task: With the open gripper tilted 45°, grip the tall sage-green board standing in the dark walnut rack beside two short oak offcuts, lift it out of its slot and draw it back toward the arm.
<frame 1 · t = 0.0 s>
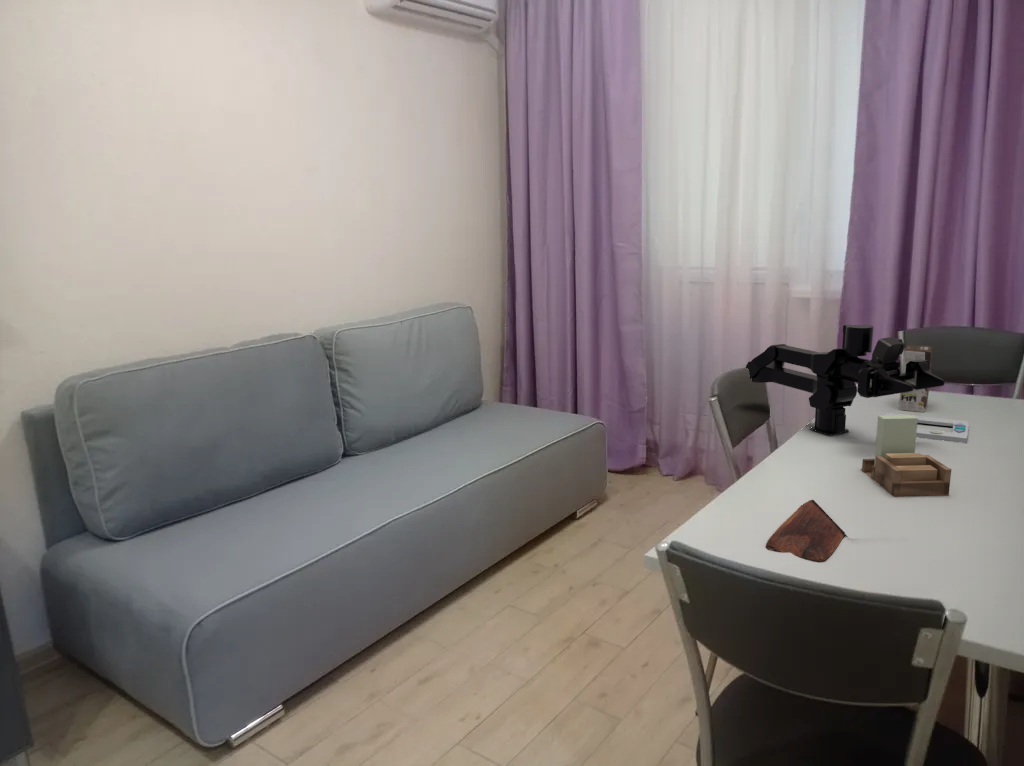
hand: (928, 385, 155), 17 cm above the table, tool horizontal, fingers open, 9 cm apart
oak offcut: (903, 482, 145), point 1 cm above the table, touching offcut rack
offcut rack: (892, 479, 150), on the table
tall board: (892, 474, 149), point 1 cm above the table, touching offcut rack
wooden tablet: (816, 531, 129), on the table
electronic device: (923, 432, 181), on the table
small oak offcut: (914, 490, 141), point 1 cm above the table, touching offcut rack
coffee box: (913, 407, 199), on the table
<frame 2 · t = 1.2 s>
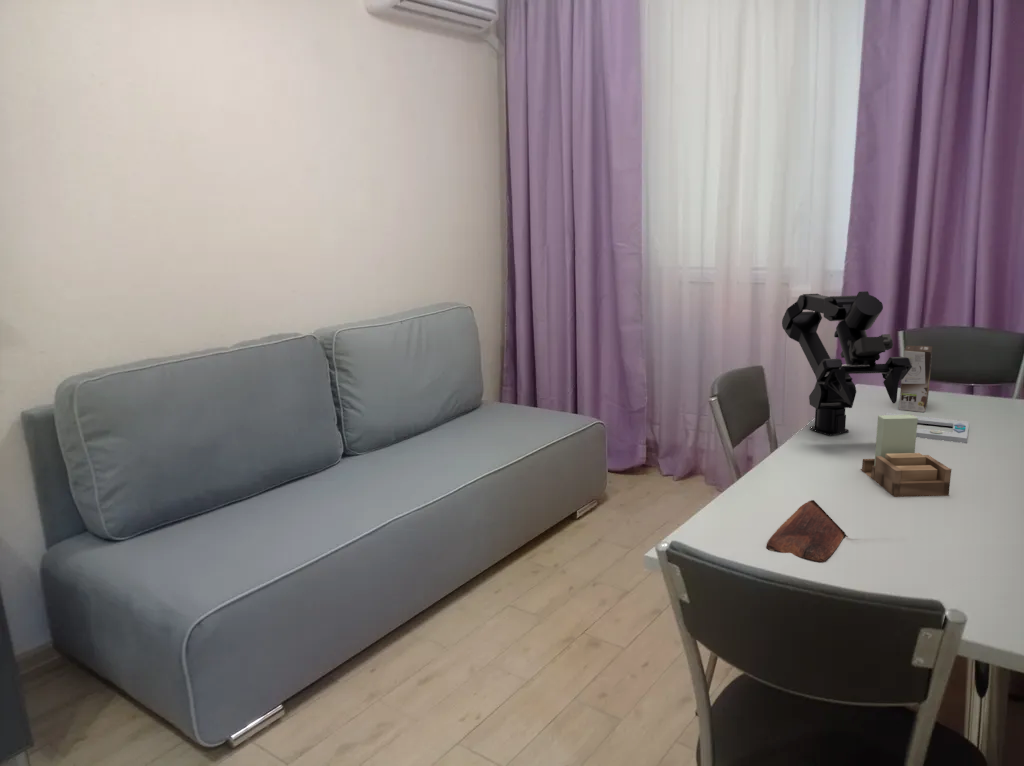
hand: (872, 403, 158), 13 cm above the table, tool tilted 45°, fingers open, 9 cm apart
nothing on the table moved.
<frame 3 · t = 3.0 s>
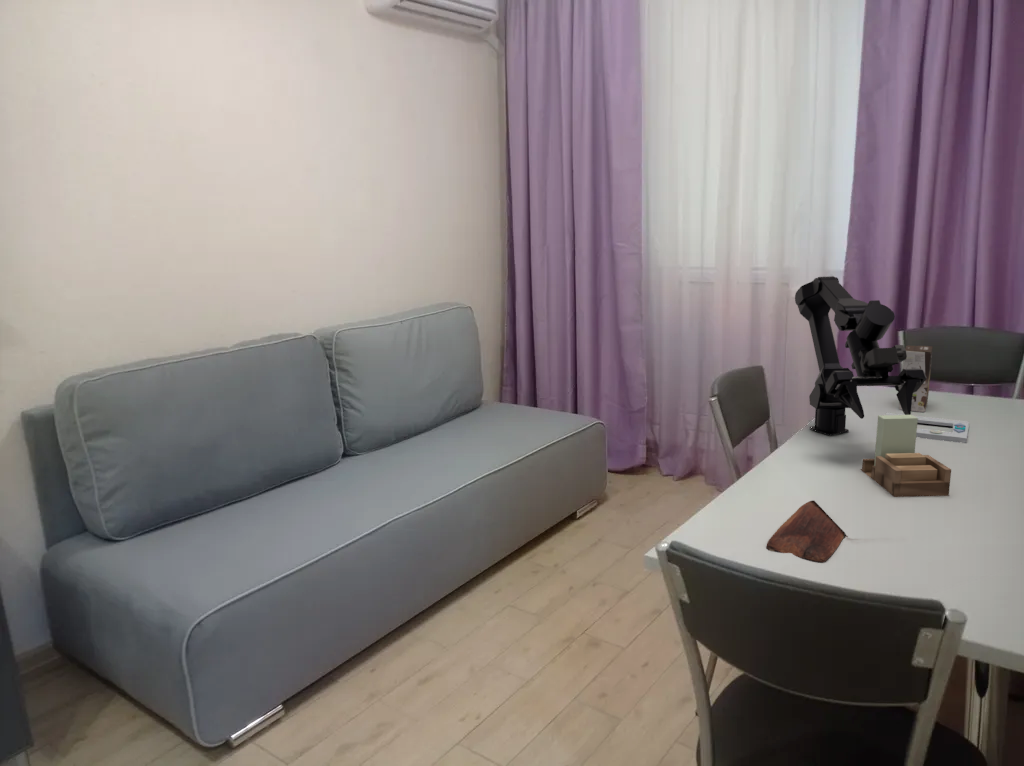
hand: (885, 417, 152), 12 cm above the table, tool tilted 45°, fingers open, 9 cm apart
nothing on the table moved.
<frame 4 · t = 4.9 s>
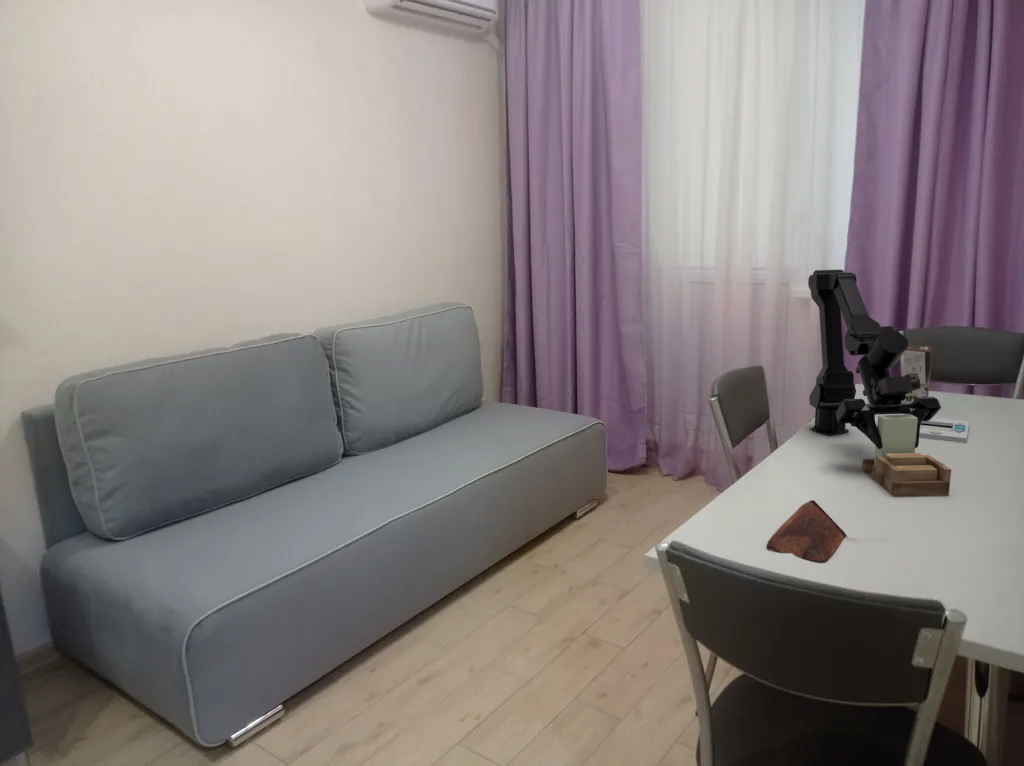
hand: (898, 447, 147), 7 cm above the table, tool tilted 45°, fingers closed on tall board, 6 cm apart
tall board: (892, 474, 149), point 1 cm above the table, touching gripper, offcut rack
everything else where it was.
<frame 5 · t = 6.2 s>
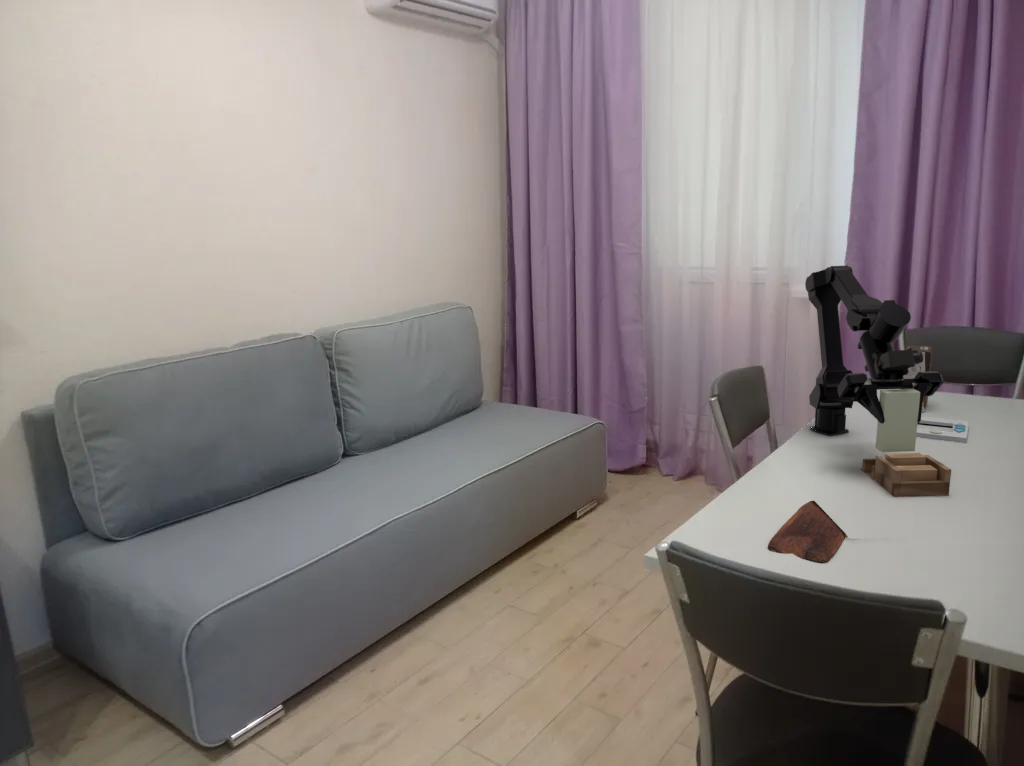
hand: (900, 422, 145), 12 cm above the table, tool tilted 45°, fingers closed on tall board, 6 cm apart
tall board: (894, 449, 148), point 6 cm above the table, touching gripper
everything else where it was.
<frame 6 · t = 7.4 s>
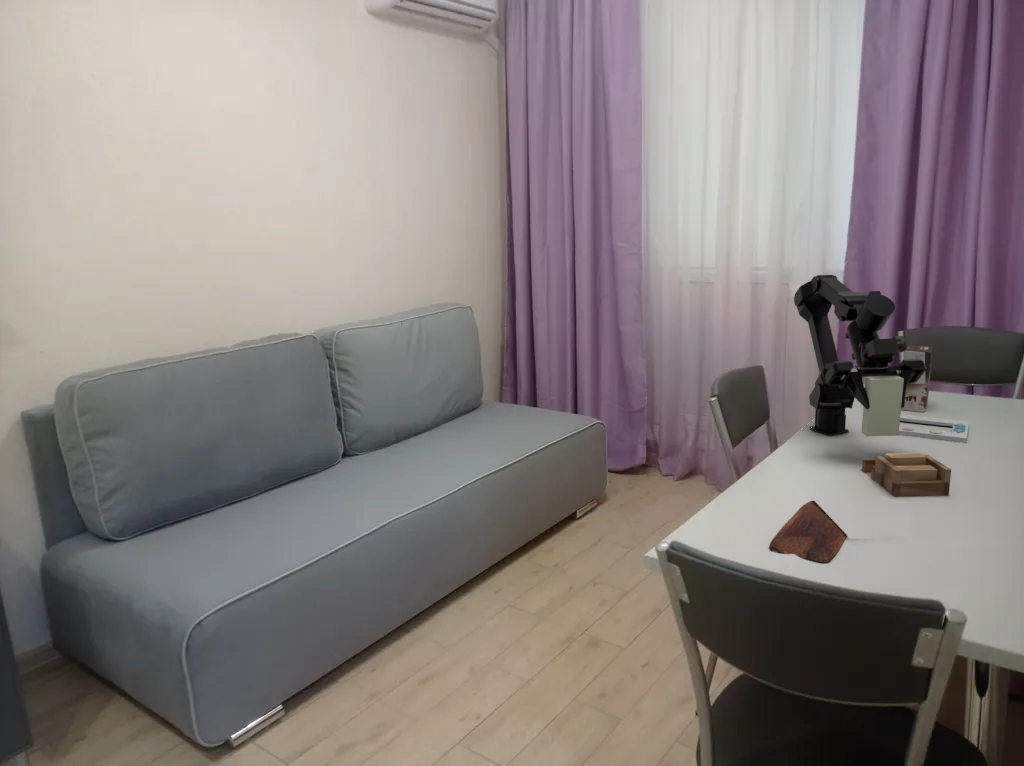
hand: (885, 407, 152), 13 cm above the table, tool tilted 45°, fingers closed on tall board, 6 cm apart
tall board: (879, 434, 155), point 7 cm above the table, touching gripper
everything else where it was.
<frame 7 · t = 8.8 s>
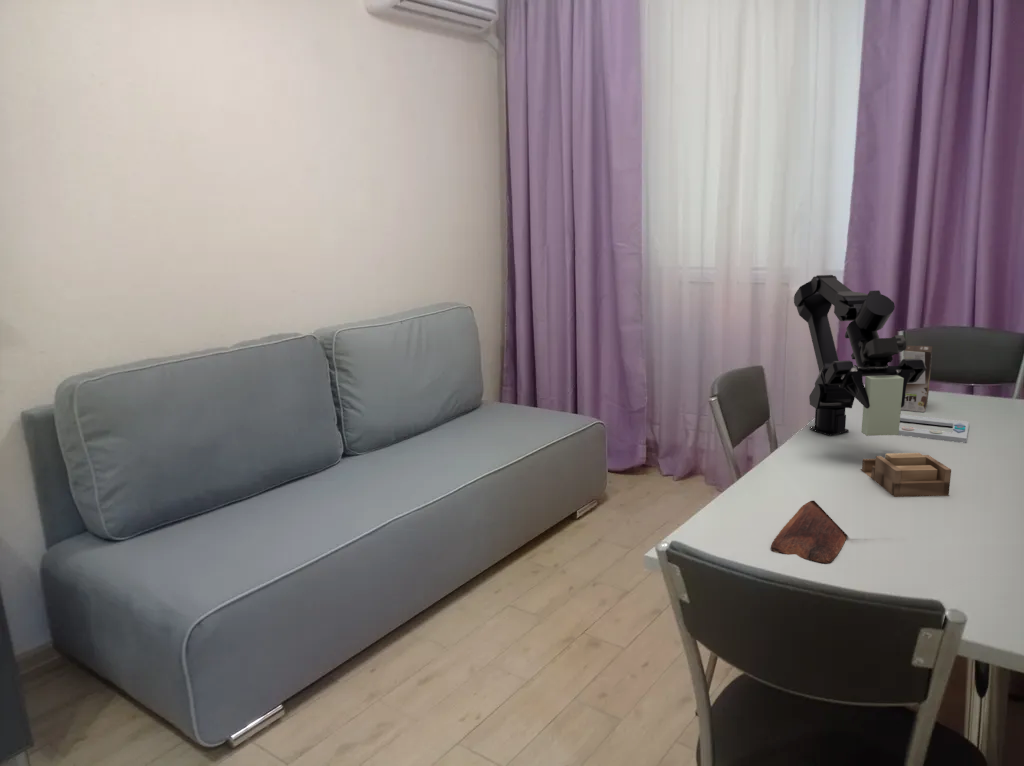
hand: (885, 407, 152), 13 cm above the table, tool tilted 45°, fingers closed on tall board, 6 cm apart
tall board: (879, 433, 155), point 7 cm above the table, touching gripper
everything else where it was.
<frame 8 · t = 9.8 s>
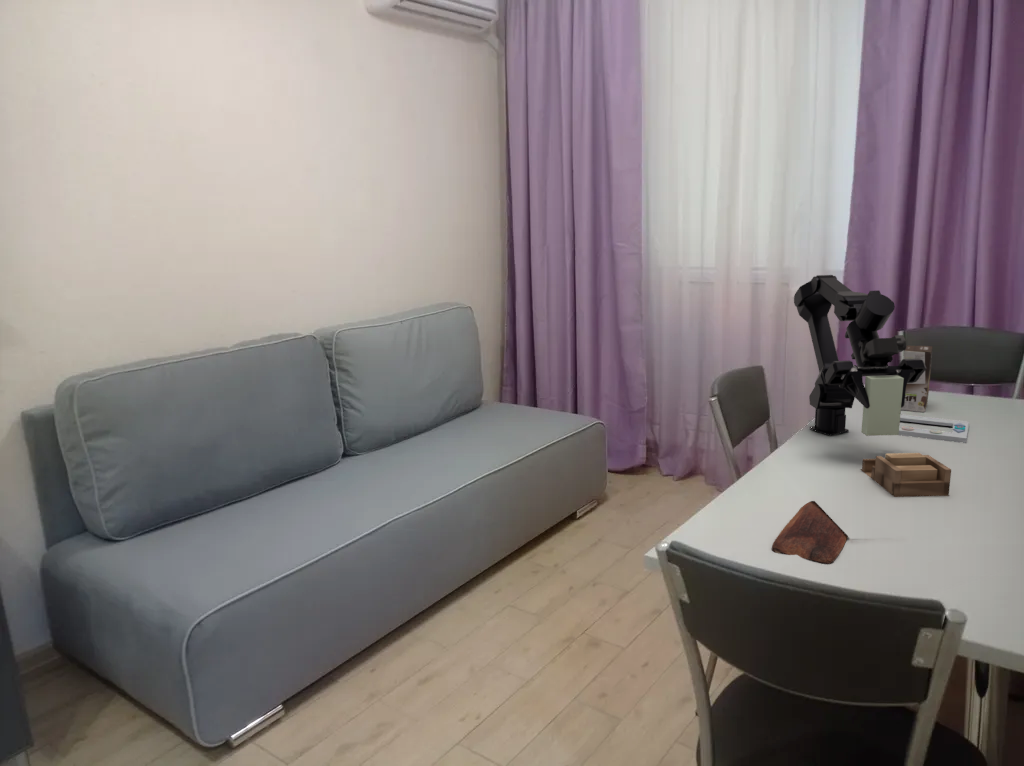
hand: (885, 407, 152), 13 cm above the table, tool tilted 45°, fingers closed on tall board, 6 cm apart
tall board: (879, 433, 155), point 7 cm above the table, touching gripper
everything else where it was.
at the end: the gripper is holding tall board; tall board point 7.4 cm above the table; tall board touching gripper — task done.
